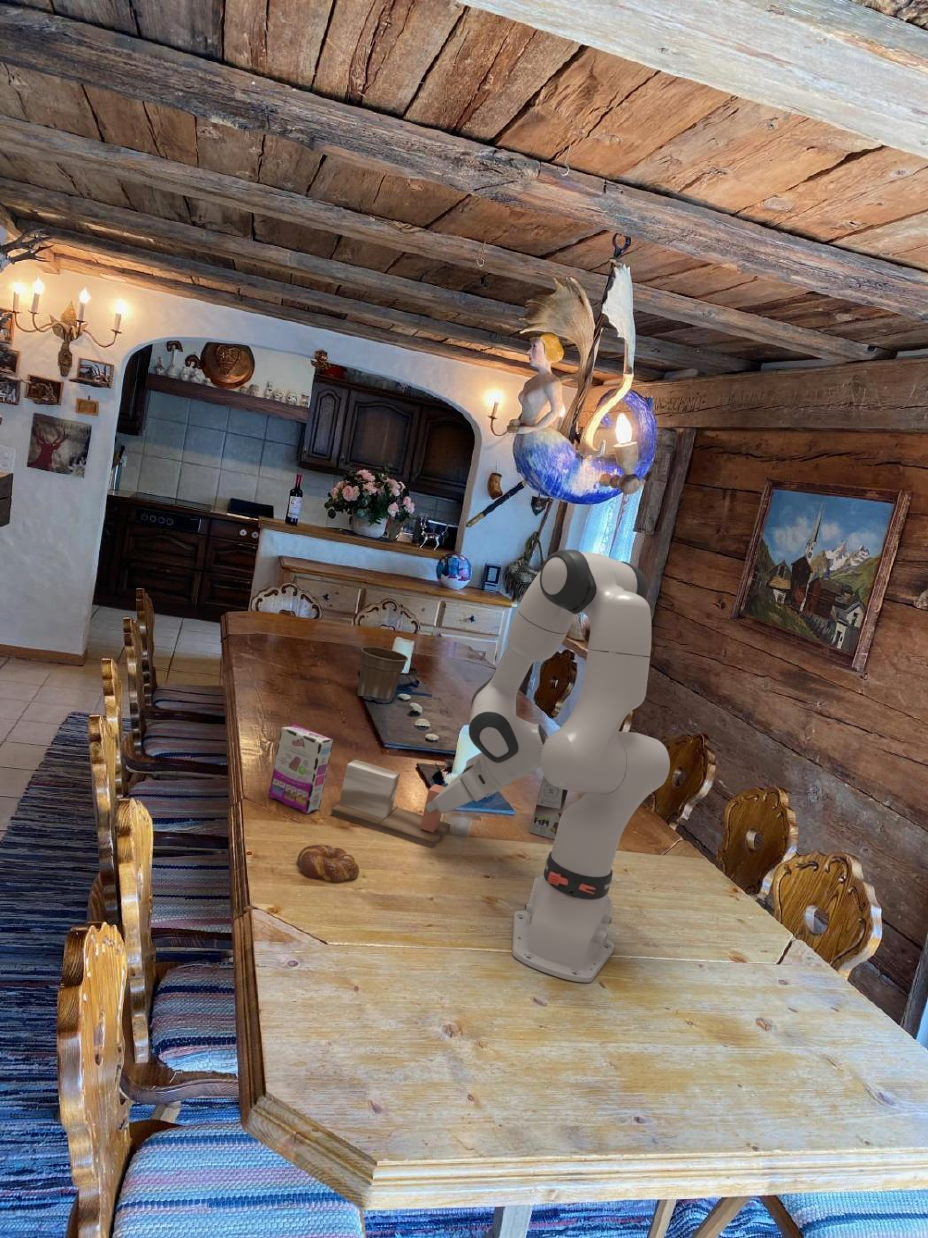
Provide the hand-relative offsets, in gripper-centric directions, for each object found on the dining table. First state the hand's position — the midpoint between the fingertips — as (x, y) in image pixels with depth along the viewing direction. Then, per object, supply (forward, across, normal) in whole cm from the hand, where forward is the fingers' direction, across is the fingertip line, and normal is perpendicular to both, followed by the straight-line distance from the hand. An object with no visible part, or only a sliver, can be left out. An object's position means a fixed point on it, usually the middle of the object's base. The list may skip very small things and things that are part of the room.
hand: (431, 804), depth 187 cm
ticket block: (+11, 0, -2) cm, 11 cm away
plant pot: (+40, -95, -30) cm, 107 cm away
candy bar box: (+26, +6, -16) cm, 31 cm away
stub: (+3, 0, +4) cm, 5 cm away
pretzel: (+12, +30, -2) cm, 32 cm away
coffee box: (-11, -24, +21) cm, 34 cm away
